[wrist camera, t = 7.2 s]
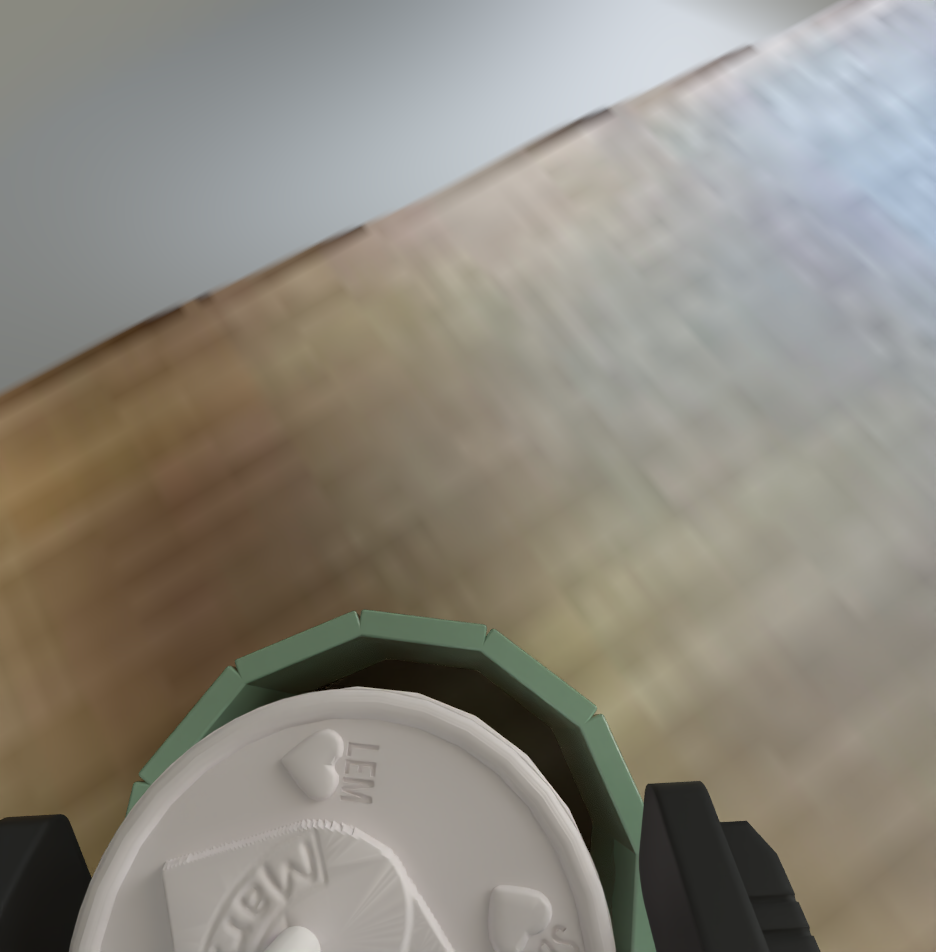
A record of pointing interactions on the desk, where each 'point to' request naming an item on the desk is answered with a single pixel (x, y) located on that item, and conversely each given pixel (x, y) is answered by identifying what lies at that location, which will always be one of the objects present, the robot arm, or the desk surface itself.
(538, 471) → the desk surface
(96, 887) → the smoothie
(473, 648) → the holder
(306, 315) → the desk surface
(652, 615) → the desk surface
